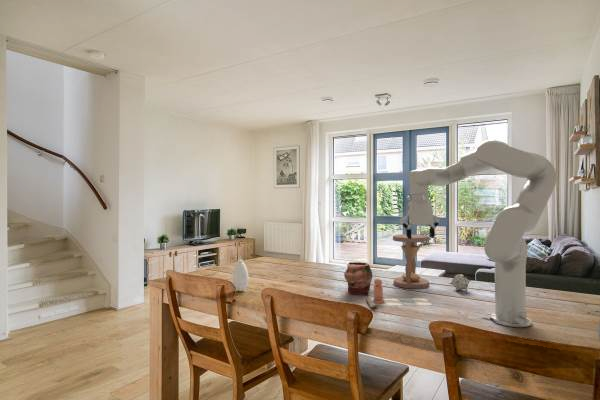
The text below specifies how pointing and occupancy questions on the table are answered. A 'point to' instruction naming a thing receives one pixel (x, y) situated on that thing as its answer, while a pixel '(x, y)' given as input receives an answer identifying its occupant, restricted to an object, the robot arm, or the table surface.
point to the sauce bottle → (240, 275)
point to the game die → (460, 282)
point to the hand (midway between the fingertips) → (420, 238)
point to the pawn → (378, 292)
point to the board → (395, 302)
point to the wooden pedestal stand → (411, 262)
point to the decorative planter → (358, 277)
